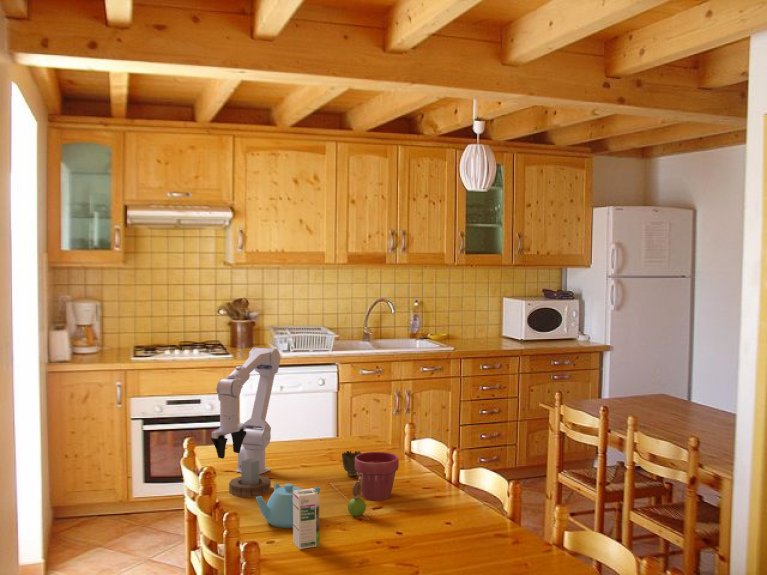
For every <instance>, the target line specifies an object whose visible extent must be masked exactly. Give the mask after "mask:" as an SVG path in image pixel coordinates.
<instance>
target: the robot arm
mask: <svg viewBox="0 0 767 575" xmlns="http://www.w3.org/2000/svg"><path fill="white" fill-rule="evenodd" d="M280 354H281V353H280V351H279V350H278V348H264V347H263V348H262V347H255V346H254V347H252V349H250V351H249V353H248V358H247V359H246V361H245V362H244V363H243V364H242V365H240V366H236V367H235V369H234V370H232V372H231V373H230V374H229V375H227V376H226V377H225V378H221V379H220V380H219V381H218V382H217V386H216V388H215V390H216V394H217V396H218V401H219V424H220V425H219V428H217V429H216V430H213V431H211V436H210V440H211V442H212V443H213V446H214V448H215V451H216V454H217V457H218V458H217V459H222V460H223V459H225V455H226V446H227V442H228V438H226V437H224V436H226V435H227V436H228V435H231V440H232V450H233V453H234V454H235V453H236V454H237V469H236V470H235V472H236V473H240V474H241V461H243V460H246V459H249V458H251V459H256V460H259V476H261V475H262V474H264V473H265V474H266V473H267V472H270V471H271V469H270V468H268V467H266V448H267V447H268V445H269V444H270V441H271V438H272V434H271V431H272V427H271V425H270V424H269V423H268V422H267V420H266V419H267V413H268V409H269V405H270V404H269V403H270V399H271V394H272V390H273V385H274V380H275V375H276V374H277V373H278V372H279V367H280V362H281V355H280ZM253 371H255V372H256V373H258V374H259V378H258V383H257V388H256V393H255V399H254V402H253V405H252V406H253V408H252V412H251V416H250V418H249V419H247V420H245V422H244V423H241V422H240V423H238V421H239V420H238V419H239V418H238V415H239V414H238V413H239V412H238V411H239V410H238V409H239V407H238V405H239V403H238V402H239V401H238V400H239V399H238V397H239V396H240V394H241V391H242V389H243V388H244V385H245V384H246V383H247V381H248V380H249V379H250V376H251V375H250V374H251V373H252V372H253Z"/></svg>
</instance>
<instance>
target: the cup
mask: <svg viewBox="0 0 767 575" xmlns="http://www.w3.org/2000/svg"><path fill="white" fill-rule="evenodd" d="M361 453H362V452H361V451H359V450H358V451H357V450H354V452H352V451H351V450H350V451H349V450H346V452H345V451H343V452H342V453H341V456H342V460H341V461H342V465H343V469H344V471H346V472H347V473H346V475H347V477H351V478H355V477H357V476H358V471H356V470H355V457H356V456H357V455H358V454H361Z"/></svg>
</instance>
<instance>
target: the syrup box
mask: <svg viewBox="0 0 767 575" xmlns="http://www.w3.org/2000/svg"><path fill="white" fill-rule="evenodd" d="M292 533H293V534H292V539H293V541H292V542H293V543H294V545H295V546H296V548H298V549H299V550H304V549H309V548H310V549H311V548H317V547H320V493H318V492H317V491H316V490H315V489H314V488H313V487H311V488H306V489H302V490H295V491H293V528H292Z"/></svg>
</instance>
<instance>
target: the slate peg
mask: <svg viewBox="0 0 767 575" xmlns="http://www.w3.org/2000/svg"><path fill="white" fill-rule="evenodd" d="M240 475H241V476H240V477H241V485H257V484H259V476H260V475H259V460H256V459H251V458H249V459H246V460H243V461H241V473H240Z"/></svg>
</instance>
